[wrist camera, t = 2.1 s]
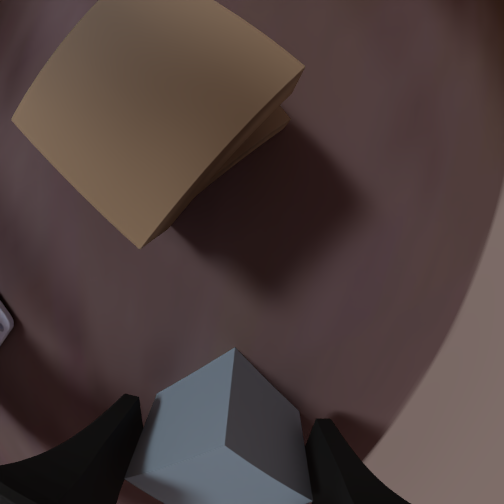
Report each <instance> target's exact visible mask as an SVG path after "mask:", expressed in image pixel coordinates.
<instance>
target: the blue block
mask: <svg viewBox="0 0 504 504" xmlns="http://www.w3.org/2000/svg"><path fill="white" fill-rule="evenodd" d="M124 479H125V480H127V481H128V482H130V483H131V484H133V485H135V486H136V487H138V488H139V489H141V490H142V491H144V492H146V493H147V494H149V495H151V496H152V497H154V498H156V499H157V500H159V501H161V502H163V503H164V504H306V503H309V502H312V501H313V499H312V492H311V485H310V478H309V472H308V465H307V458H306V452H305V445H304V439H303V433H302V426H301V420H300V414H299V411H298V410H297V409H296V408H295V407H294V406H293V405H292V404H291V403H290V402H289V401H288V400H287V399H286V398H285V397H284V396H283V395H282V394H281V393H280V392H279V391H278V390H277V389H276V388H275V387H273V386H272V385H271V384H270V383H269V382H268V381H267V380H266V379H265V378H264V377H263V376H262V375H261V374H260V373H259V372H258V371H257V370H256V369H255V367H254V366H253V365H252V364H251V363H250V362H249V361H248V360H247V359H246V358H245V357H244V356H243V355H242V354H241V353H240V352H239V351H238V350H237V349H236V348H233V349H232V350H230V351H228V352H227V353H225V354H224V355H222V356H220V357H219V358H217V359H215V360H214V361H212V362H210V363H209V364H207V365H205V366H204V367H202V368H200V369H199V370H197V371H195V372H194V373H192V374H190V375H189V376H187V377H185V378H184V379H182V380H180V381H178V382H177V383H175V384H173V385H171V386H170V387H168V388H166V389H164V390H163V391H161V392H159V393H157V395H156V397H155V400H154V402H153V405H152V407H151V410H150V412H149V415H148V418H147V420H146V423H145V425H144V428H143V430H142V433H141V435H140V438H139V441H138V443H137V446H136V449H135V451H134V454H133V456H132V459H131V462H130V464H129V467H128V470H127V472H126V475H125V478H124Z"/></svg>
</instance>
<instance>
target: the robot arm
mask: <svg viewBox="0 0 504 504" xmlns="http://www.w3.org/2000/svg"><path fill="white" fill-rule="evenodd" d="M13 326H14V321H13V318H12V316H11V315H10V313H9V312H8V310H7V309H6V308H5V306H4V305H3V303H2V302H1V300H0V346H1V344H2V343H3V341H4V340H5V338H6V337H7V335H8V334H9V332H10V331H11V330H12V328H13ZM142 430H143V424H142V416H141V409H140V401H139V397H137V396H133V395H129V394H124V395H123V396H122V397H121V398H120V399H118V400H117V401H116V402H115V403H114V404H113V405H112V406H111V407H110V408H109V409H108V410H107V411H105V412H104V413H103V414H102V415H101V416H100V417H98V418H97V419H96V420H95V421H94V422H92V423H91V424H90V425H89V426H87V427H86V428H85V429H83V430H82V431H80V432H79V433H78V434H76V435H75V436H73V437H72V438H70V439H69V440H67V441H65V442H64V443H62V444H60V445H58V446H56V447H54V448H52V449H50V450H48V451H46V452H44V453H42V454H39V455H37V456H34V457H31V458H28V459H25V460H22V461H19V462H15V463H10V464H5V465H0V504H116V503H117V499H118V495H119V492H120V489H121V487H122V484H123V482H124V480H125V479H124V478H125V475H126V472H127V470H128V467H129V464H130V462H131V459H132V456H133V454H134V451H135V449H136V446H137V443H138V441H139V438H140V435H141V433H142ZM305 452H306V458H307V465H308V472H309V478H310V485H311V492H312V499H313V501H312V504H411V503H409V502H407V501H406V500H404V499H403V498H401V497H400V496H399V495H397V494H396V493H394V492H393V491H392V490H390V489H389V488H388V487H387V486H385V485H384V484H383V483H382V482H381V481H380V480H379V479H378V478H377V477H376V476H375V475H374V474H373V473H372V472H371V471H370V470H369V469H368V468H367V467H366V466H365V465H364V463H363V462H362V461H361V460H360V459H359V458H358V456H357V455H356V454H355V452H354V451H353V450H352V449H351V447H350V446H349V445H348V443H347V442H346V440H345V439H344V438H343V436H342V435H341V433H340V432H339V430H338V429H337V427H336V426H335V424H334V423H333V422H332V420H331V419H316V420H315V423H314V426H313V428H312V431H311V433H310V436H309V438H308V441H307V443H306V446H305Z"/></svg>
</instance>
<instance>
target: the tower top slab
mask: <svg viewBox="0 0 504 504" xmlns="http://www.w3.org/2000/svg"><path fill="white" fill-rule="evenodd" d="M304 68H305V66H304V65H303V64H302V63H300V62H299V61H298V60H297V59H296V58H294V57H293V56H292V55H291V54H289V53H288V52H287V51H286V50H284V49H283V48H282V47H281V46H279V45H278V44H277V43H275V42H274V41H273V40H271V39H270V38H269V37H267V36H266V35H265V34H263V33H262V32H260V31H259V30H258V29H256V28H255V27H253V26H252V25H251V24H249V23H248V22H246V21H245V20H243V19H242V18H240V17H239V16H237V15H236V14H234V13H233V12H231V11H230V10H228V9H227V8H225V7H223V6H222V5H220V4H219V3H217V2H215V1H214V0H99V1H98V2H97V3H96V4H95V5H94V6H93V7H92V8H91V9H90V10H89V11H88V12H87V13H86V14H85V15H84V17H83V18H82V19H81V20H80V21H79V22H78V23H77V25H76V26H75V27H74V28H73V29H72V30H71V32H70V33H69V34H68V35H67V36H66V38H65V39H64V40H63V41H62V43H61V44H60V45H59V47H58V48H57V49H56V50H55V52H54V53H53V54H52V56H51V57H50V59H49V60H48V61H47V63H46V64H45V66H44V67H43V68H42V70H41V71H40V73H39V74H38V76H37V77H36V79H35V80H34V82H33V83H32V85H31V86H30V88H29V90H28V91H27V93H26V94H25V96H24V98H23V99H22V101H21V103H20V104H19V106H18V108H17V110H16V111H15V113H14V115H13V117H12V119H11V120H12V121H13V122H14V124H15V125H16V126H17V127H18V128H19V129H20V130H21V131H22V133H23V134H24V135H25V136H26V137H27V138H28V139H29V140H30V141H31V143H32V144H33V145H34V146H35V147H36V148H37V149H38V150H39V151H40V152H41V153H42V155H43V156H44V157H45V158H46V159H47V160H48V161H49V162H50V163H51V164H52V165H53V166H54V167H55V168H56V169H57V170H58V171H59V172H60V173H61V174H62V175H63V176H64V177H65V179H66V180H67V181H68V182H69V183H70V184H71V185H72V186H73V187H74V188H75V189H76V190H77V191H78V192H79V193H80V194H81V195H82V196H83V197H84V198H85V199H86V200H87V201H89V202H90V203H91V204H92V205H93V206H94V207H95V208H96V209H97V210H98V211H99V212H100V213H101V214H102V215H103V216H104V217H105V218H106V219H107V220H108V221H109V222H110V223H111V224H113V225H114V226H115V227H116V228H117V229H118V230H119V231H120V232H121V233H122V234H123V235H124V236H125V237H127V238H128V239H129V240H130V241H131V242H132V243H133V244H134V245H135V246H136V247H138V248H139V249H141V248H143V247H144V246H145V245H147V244H148V243H149V242H151V241H152V240H153V239H155V238H156V237H157V236H159V235H160V234H162V233H163V232H164V231H166V230H167V229H168V228H169V227H170V226H171V225H172V224H173V222H174V221H175V220H176V219H177V218H178V216H179V215H180V214H181V213H182V212H183V210H184V209H185V208H186V207H187V206H188V204H189V203H190V202H191V201H192V200H193V199H194V197H195V196H196V195H197V194H198V193H199V192H200V190H201V189H202V188H203V187H204V186H205V185H206V183H207V182H208V181H209V180H210V179H211V178H212V177H213V176H214V174H215V173H216V172H217V171H218V170H219V169H220V168H221V167H222V165H223V164H224V163H225V162H226V161H227V160H228V159H229V158H230V157H231V156H232V154H233V153H234V152H235V151H236V150H237V149H238V148H239V147H240V146H241V145H242V144H243V143H244V142H245V140H246V139H247V138H248V137H249V136H250V135H251V134H252V133H253V132H254V131H255V130H256V129H257V128H258V127H259V126H260V125H261V124H262V123H263V122H264V121H265V120H266V119H267V118H268V117H269V116H270V114H271V113H272V112H273V111H274V110H275V109H276V108H277V107H278V106H279V105H280V104H281V103H282V102H283V101H284V100H285V99H286V98H287V97H289V96H290V95H291V94H292V92H293V90H294V88H295V86H296V84H297V82H298V80H299V78H300V76H301V74H302V72H303V70H304Z"/></svg>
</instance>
